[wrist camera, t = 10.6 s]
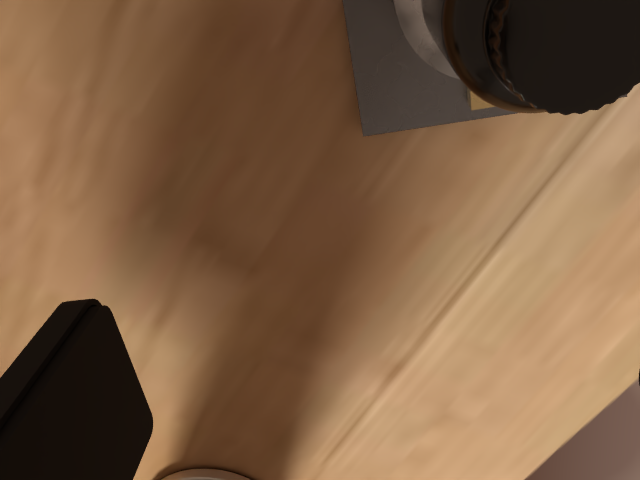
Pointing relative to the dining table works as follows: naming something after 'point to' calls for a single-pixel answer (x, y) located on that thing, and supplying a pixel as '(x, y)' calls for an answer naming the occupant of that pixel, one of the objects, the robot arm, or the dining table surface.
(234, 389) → the dining table surface
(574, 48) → the supplement bottle
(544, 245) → the dining table surface
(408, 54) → the dish on grey tray
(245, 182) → the dining table surface
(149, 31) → the dining table surface
